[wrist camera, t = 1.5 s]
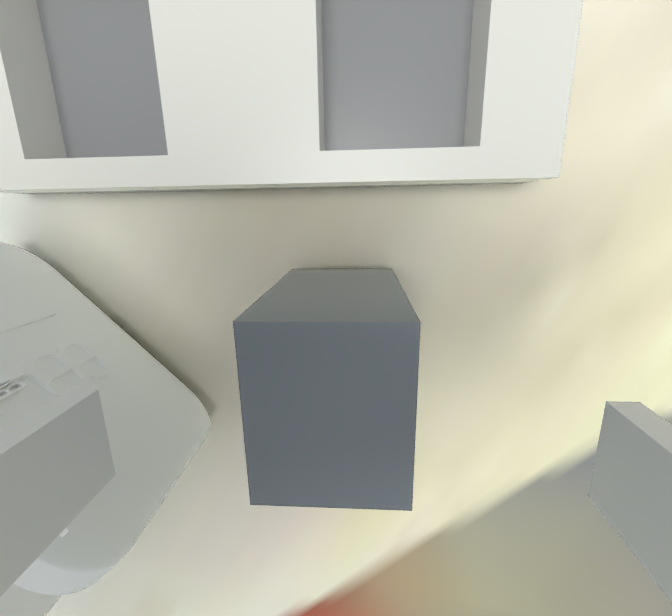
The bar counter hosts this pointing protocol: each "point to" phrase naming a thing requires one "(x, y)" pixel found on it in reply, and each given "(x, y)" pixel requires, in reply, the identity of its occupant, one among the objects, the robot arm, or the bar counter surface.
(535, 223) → the bar counter surface
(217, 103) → the socket plate
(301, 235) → the bar counter surface
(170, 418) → the cable organizer
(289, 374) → the plug
